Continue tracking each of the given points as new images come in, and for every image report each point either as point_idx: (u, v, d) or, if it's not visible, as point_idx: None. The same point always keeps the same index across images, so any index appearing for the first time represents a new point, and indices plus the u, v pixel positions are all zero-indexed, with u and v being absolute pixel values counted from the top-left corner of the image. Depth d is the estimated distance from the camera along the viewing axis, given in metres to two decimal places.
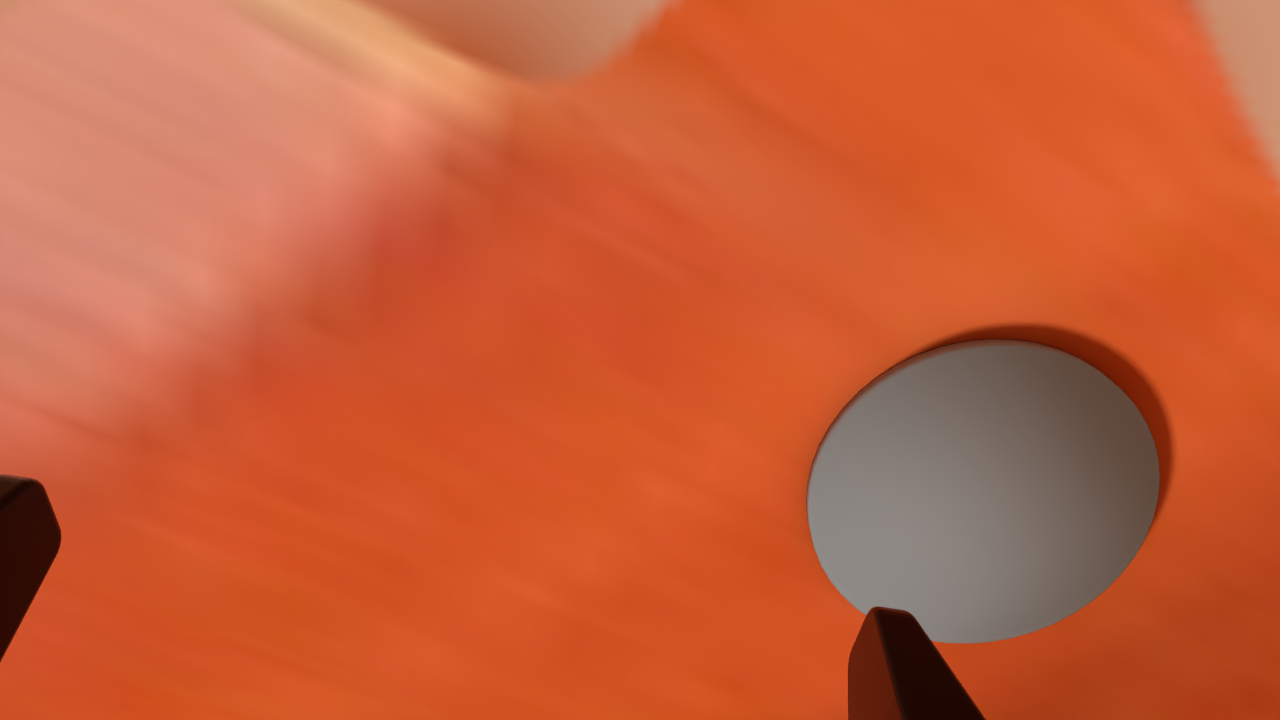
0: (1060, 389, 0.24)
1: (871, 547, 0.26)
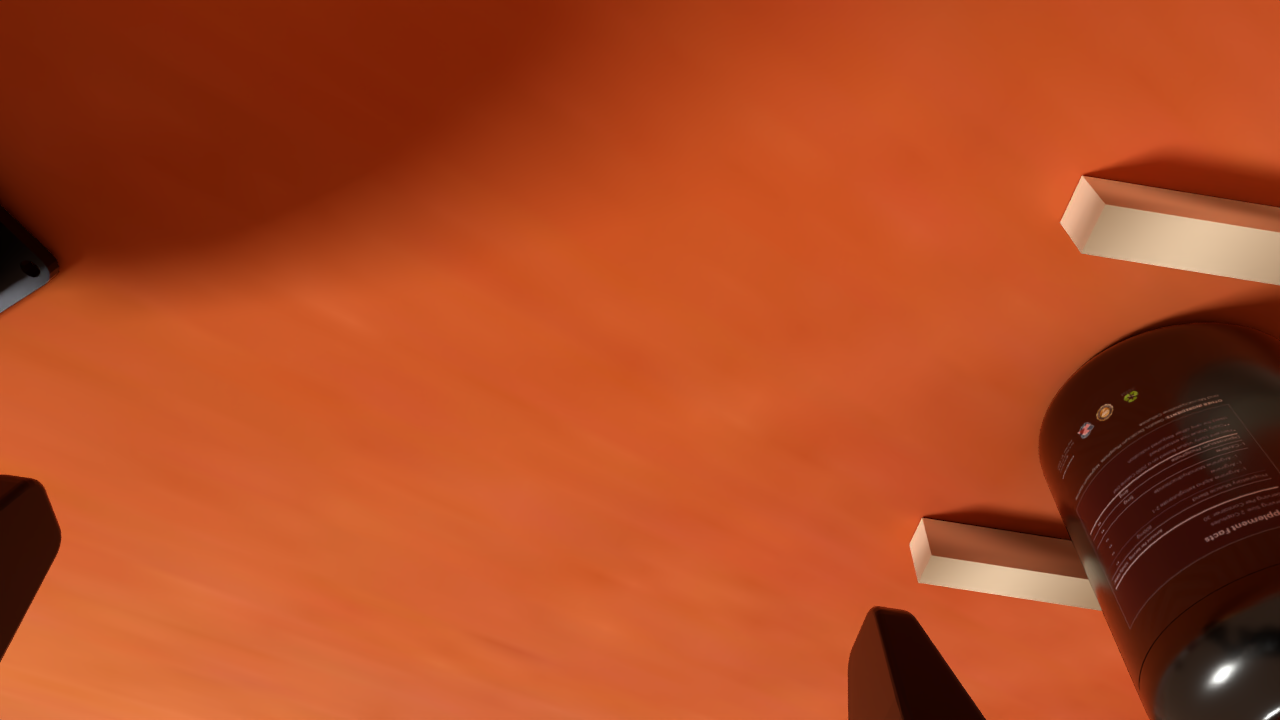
0: None
1: None
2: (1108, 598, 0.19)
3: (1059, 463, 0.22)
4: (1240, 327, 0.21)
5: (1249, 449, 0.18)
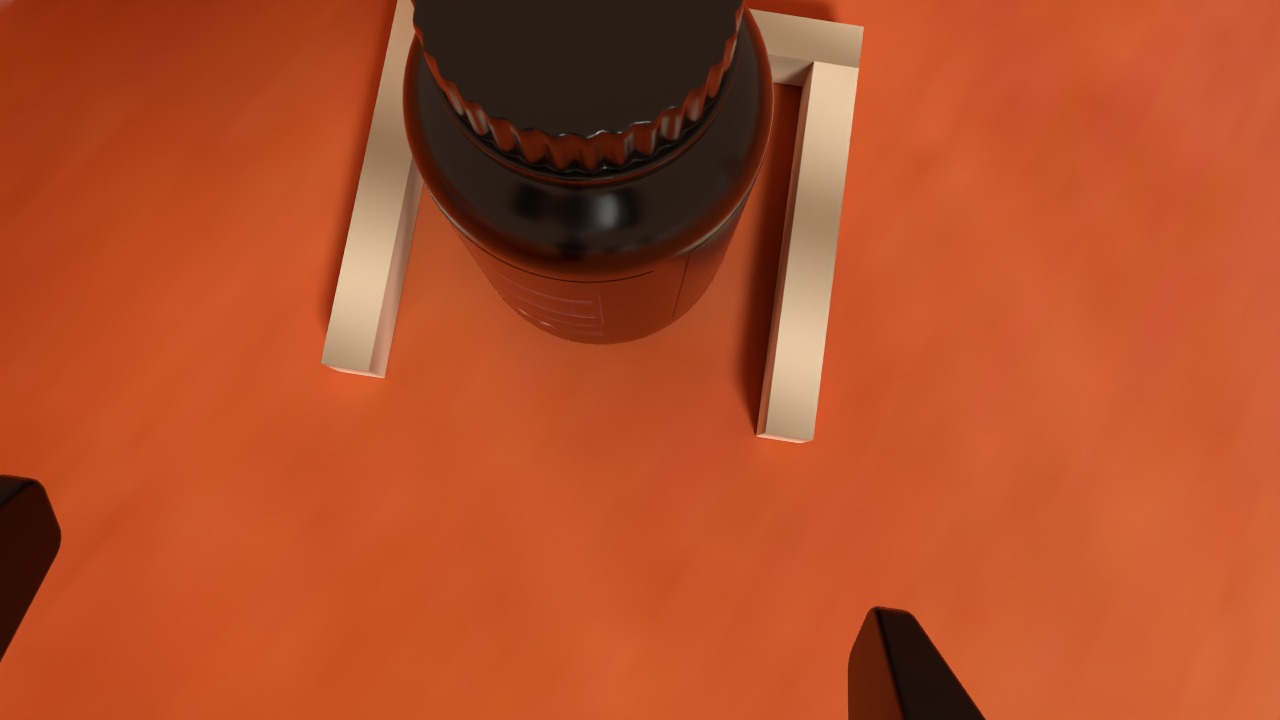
0: None
1: None
2: (616, 302, 0.18)
3: (598, 336, 0.22)
4: None
5: None
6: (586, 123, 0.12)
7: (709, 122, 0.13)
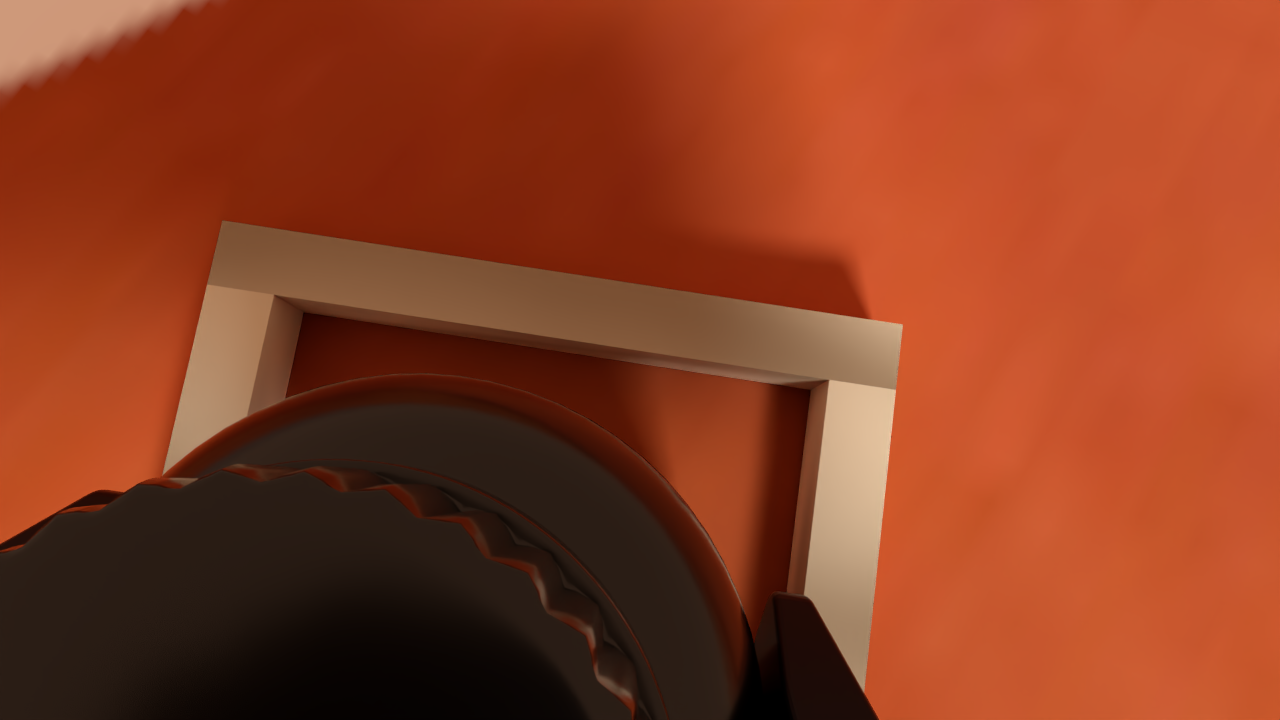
0: None
1: None
2: None
3: None
4: None
5: None
6: None
7: None
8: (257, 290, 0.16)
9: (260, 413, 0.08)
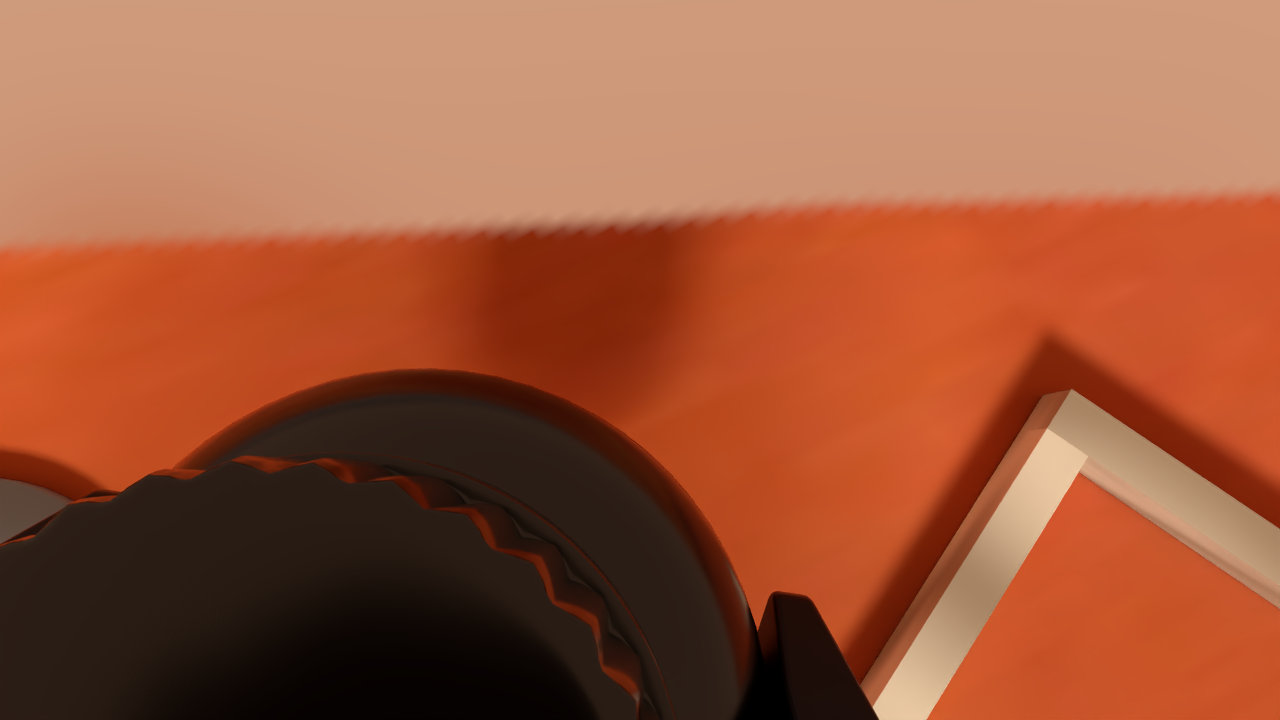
0: None
1: None
2: None
3: None
4: None
5: None
6: None
7: None
8: (1078, 448, 0.22)
9: (268, 408, 0.08)
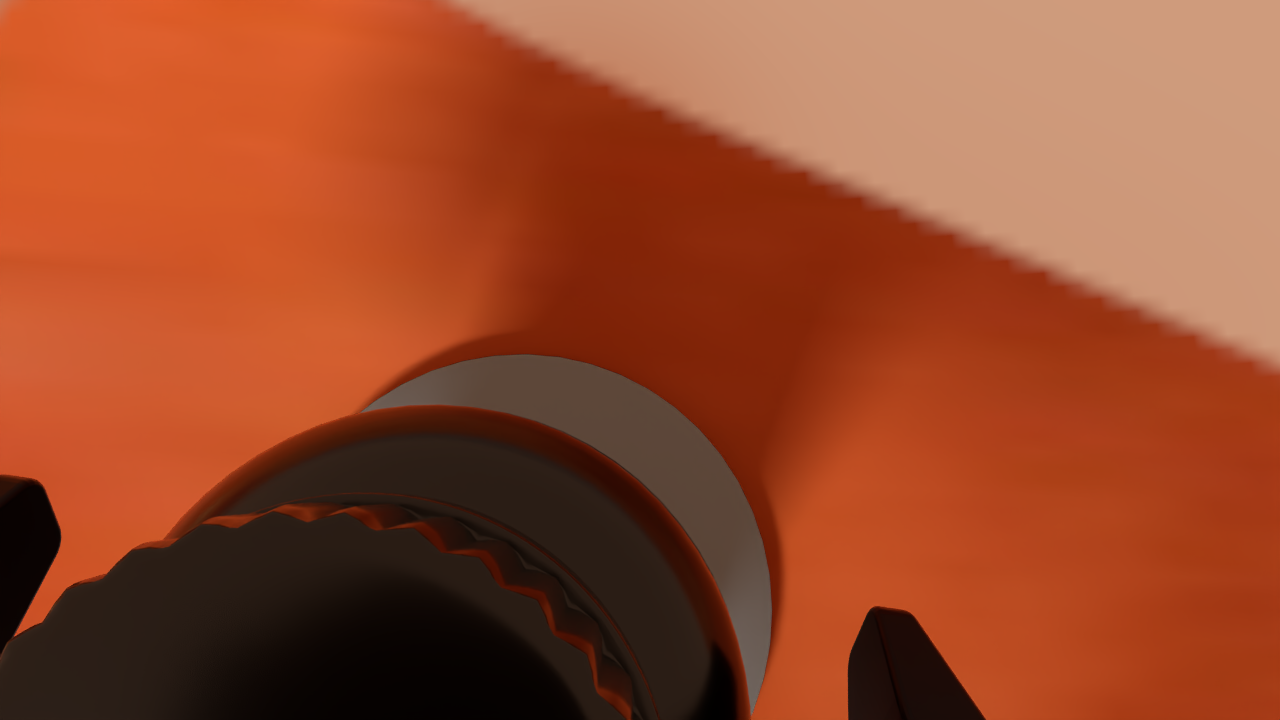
0: (514, 398, 0.18)
1: None
2: None
3: None
4: None
5: None
6: None
7: None
8: None
9: (289, 442, 0.09)
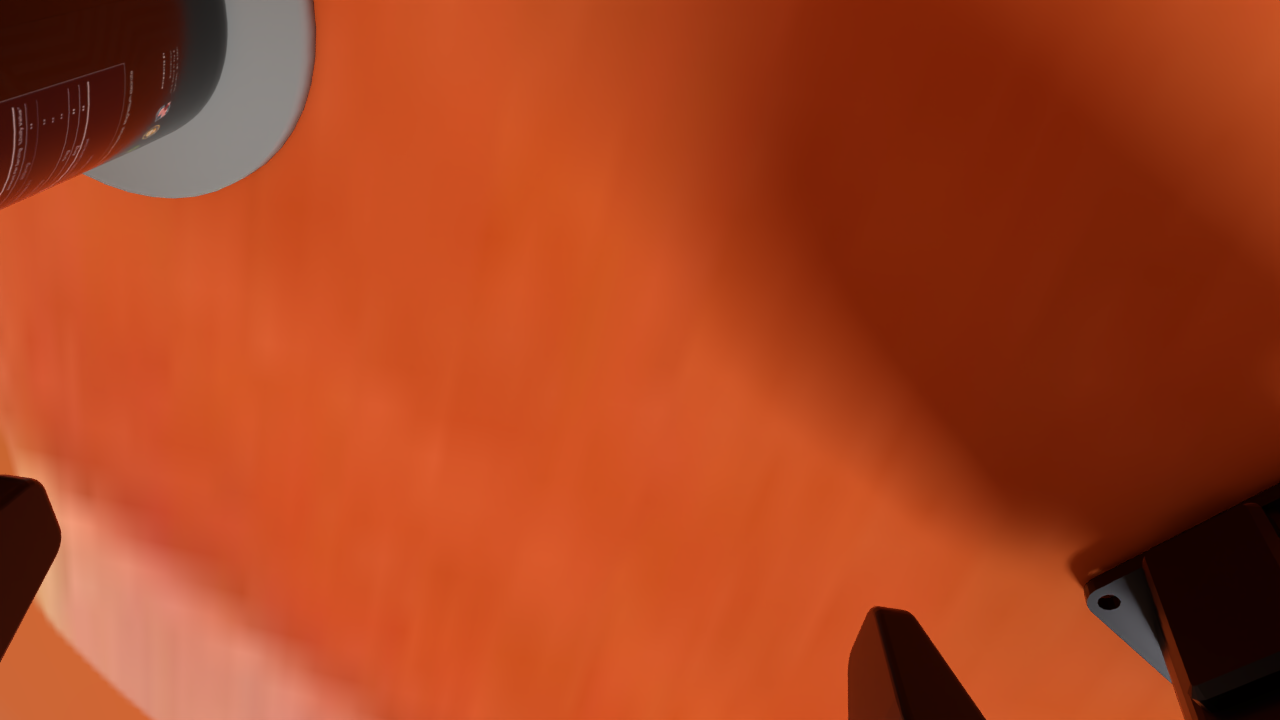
0: None
1: (205, 113, 0.21)
2: (14, 76, 0.14)
3: (178, 54, 0.18)
4: None
5: None
6: None
7: None
8: None
9: None
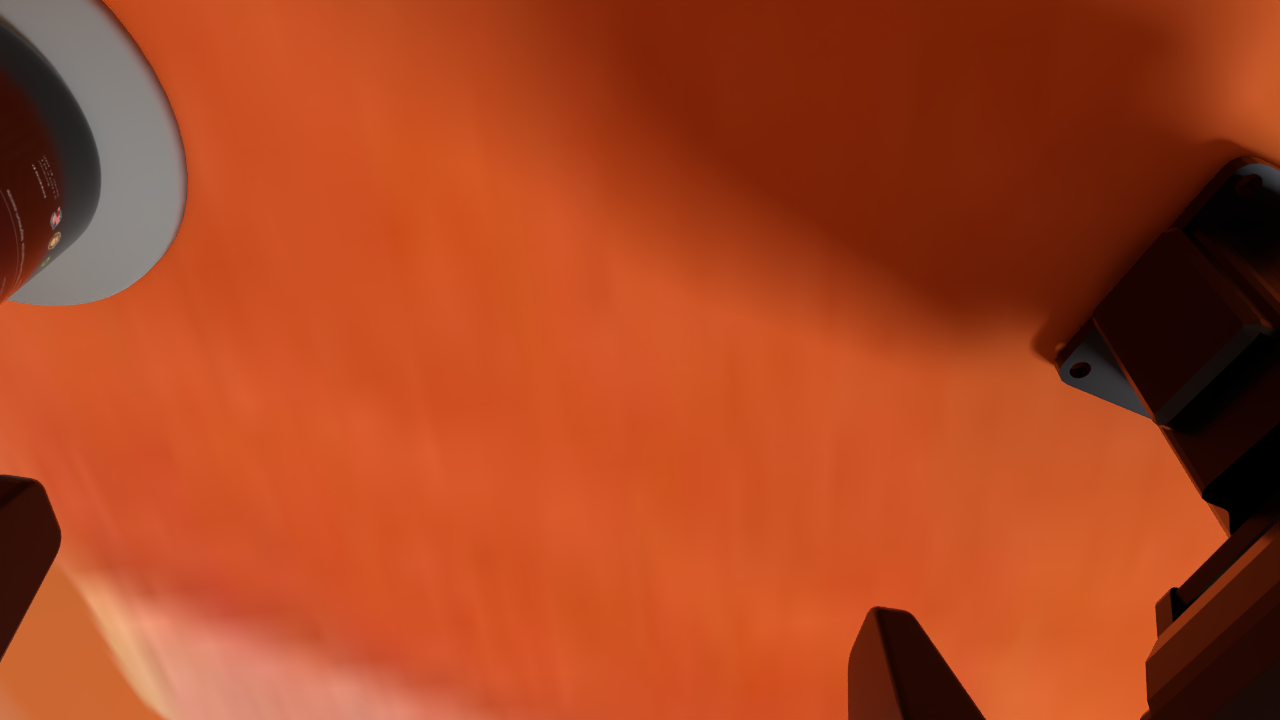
0: None
1: (103, 209, 0.22)
2: None
3: (48, 161, 0.19)
4: None
5: None
6: None
7: None
8: None
9: None
